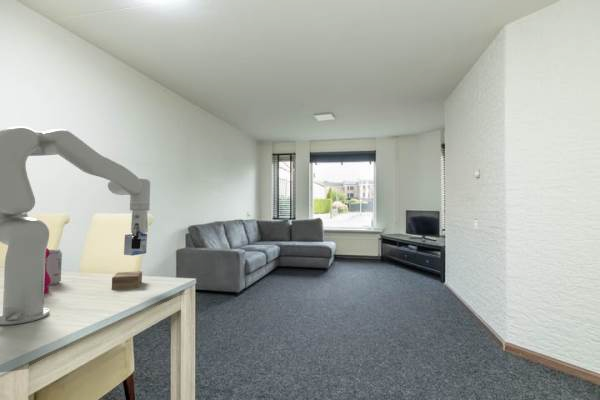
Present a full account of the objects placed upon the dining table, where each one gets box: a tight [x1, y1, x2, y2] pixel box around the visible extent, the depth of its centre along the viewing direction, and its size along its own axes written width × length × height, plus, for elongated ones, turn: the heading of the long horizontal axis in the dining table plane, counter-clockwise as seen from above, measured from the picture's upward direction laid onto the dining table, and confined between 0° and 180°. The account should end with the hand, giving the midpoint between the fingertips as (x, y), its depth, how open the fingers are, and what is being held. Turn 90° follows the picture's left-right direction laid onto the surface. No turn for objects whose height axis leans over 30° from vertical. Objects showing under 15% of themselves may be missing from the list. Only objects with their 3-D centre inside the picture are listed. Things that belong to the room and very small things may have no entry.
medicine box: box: [123, 233, 148, 256], centre depth 128 cm, size 8×4×9 cm, turn 164°
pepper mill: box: [44, 247, 51, 295], centre depth 121 cm, size 7×7×20 cm
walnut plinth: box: [111, 270, 143, 291], centre depth 134 cm, size 10×10×5 cm
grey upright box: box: [46, 248, 63, 286], centre depth 134 cm, size 6×6×15 cm
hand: (138, 247), depth 129 cm, fingers closed on medicine box, 9 cm apart
